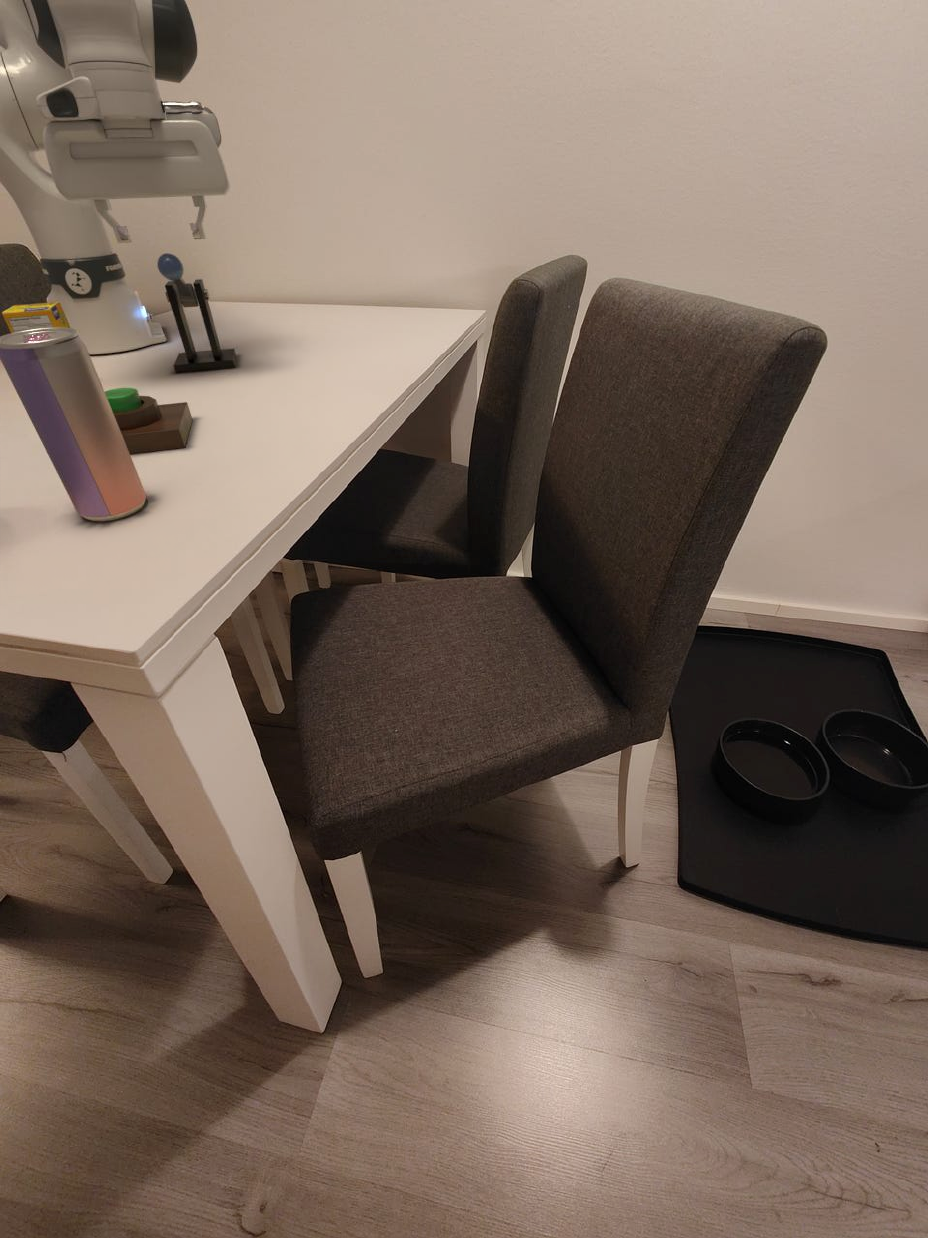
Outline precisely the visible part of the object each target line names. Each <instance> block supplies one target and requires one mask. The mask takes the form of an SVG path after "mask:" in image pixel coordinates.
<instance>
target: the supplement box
mask: <svg viewBox="0 0 928 1238" xmlns="http://www.w3.org/2000/svg"><path fill="white" fill-rule="evenodd" d="M2 316H3V319H4V321H5V324H6V325H7V327H8V329H9V331H10V333H15V332H20V331H25V330H32V329H40V328H55V327H64V328H71V327H70V325H69V323H68V320H67V318H66V316H65V313H64V311H63V309H62V306H61V304H60V302H52V303H47V302H42V303H41V302H40V303H29V304H28V303H27V304H15V305H14V304H13V305H12V306H10V307H9V308H7V309H5V310H4V311H2Z"/></svg>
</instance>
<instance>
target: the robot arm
mask: <svg viewBox="0 0 928 1238" xmlns="http://www.w3.org/2000/svg"><path fill="white" fill-rule="evenodd" d="M193 21H194V20H193V17H192V15H191V11H190V9H189V7H188V4H187V2H186V0H0V47H1V48H3V50H0V184H1V185H2V187H4V189H5V190H6V191H7V193H8V194H9V196H10V197H11V199H12V200H13V202H14V204H15V205H16V206H17V209H18V210H19V212H20V215H21V216H22V218H23V220H24V222H25V224H26V227H27V228H28V230H29V232H30V234H31V238H32V239H33V241H34V243H35V246H36V248H37V250H38V253H39V256H40V259H39V263H40V265H41V269H42V272H43V274H44V276H45V277H46V280H47V283H49V284H50V285H51V290H50V292H49V294H48V295H47V297H46V303H52V302H60V304H61V306H62V309H63V311H64V313H65V316H66V318H67V320H68V323H69V325H70V327H71V328H72V329H75V330H76V331H77V332H78V336H79V338H80V339H81V340H82V341H83V343H84V344H85V345H86V348H87V350H88V353H89V355H105V354H112V353H113V354H115V353H121V352H126V351H132V350H136V349H140V348H143V347H148V346H151V345H154V344H155V345H156V344H160V343H165V342H167V341H168V340H167V337H166V335H165V333H164V331H163V328H162V326H161V323H160V322H152V320H153V319H152V316H151V314H150V313H149V312H147V311H146V308H145V306H144V305H143V304H142V301H141V298H140V295H139V292H138V291H136V290H135V288H134V287H132V285H131V284H130V283H129V281H128V280H127V279H126V272H125V270H124V267H123V264H122V261H121V259H120V258H119V255H118V254H117V253H116V252H115V251H114V248H113V245H112V242H111V239H110V237H109V234H108V230H107V228H106V225H105V222H106V223H107V224H108V225H109V227H111V228H112V230H113V233H114V235H115V239H116V241H117V243H118V244H129V243H132V242H133V241H132V237H131V235H130V234H129V233H130V230H129V228H128V226H127V225H121V224H119V222H118V221H117V220H116V218H115V217H113V215H112V214H111V213H110V211H112V210H113V208H112V205H111V201H110V200H125V199H126V200H127V199H128V200H129V199H150V198H151V199H153V198H156V199H157V198H183V197H191V199H192V202H193V207H195V208H198V211H197V215H196V222H190V223H189V226H190V230H191V231H192V233H191V234H192V238H193V239H194V240H205V239H207V236H206V232H205V227H204V224H203V223H204V219H205V216H206V211H207V207H208V206H207V201H206V197H207V196H209V197H210V196H226V195H227V194H228V192H229V191H230V188H231V186H230V181H229V177H228V173H227V170H226V166H225V164H224V163H225V162H224V161H223V156H222V154H221V152H220V149H219V148H220V146H221V144H222V133H221V129H220V124H219V121H218V118H217V116H216V115H215V113H214V112H213V111H212V110H211V109H210V108H208V107H207V106H204V105H202V103H201V102H200V101H189V102H183V101H182V102H181V101H166V100H165V101H164V100H162V98H161V95H160V90H159V86H158V82H157V80H158V81H163V82H171V83H175V84H181V82H182V81H183V80H185V78H186V77H187V76H188V75H189V73H190V72H191V70H192V69H193V67H194V65H195V63H196V60H197V58H198V40H197V34H196V30H195V25H194V22H193ZM204 112H206V113H204ZM40 151H45V154H46V155H45V156H46V159H47V162H48V166H49V169H50V172H51V173H50V172H48V171H47V170H46V169H44V168H43V166H41V164H40V163H39V161H38V159H37V158H36V156H35V155H36V153H37V152H40ZM103 219H104V220H103ZM104 221H105V222H104Z"/></svg>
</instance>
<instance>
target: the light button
mask: <svg viewBox="0 0 928 1238" xmlns="http://www.w3.org/2000/svg"><path fill="white" fill-rule="evenodd" d="M104 392H105V394H106V397H107V399H108V402H109V404H110V407H111V409H112V412H117V411H126V410H130V409H134V408H137V407H139V406H141V405H143V404H142V402H141V399H140V396H141V395H140V393H139V390H138V389H137V388H134V387H118V388H111V389H108V390H104Z"/></svg>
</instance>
